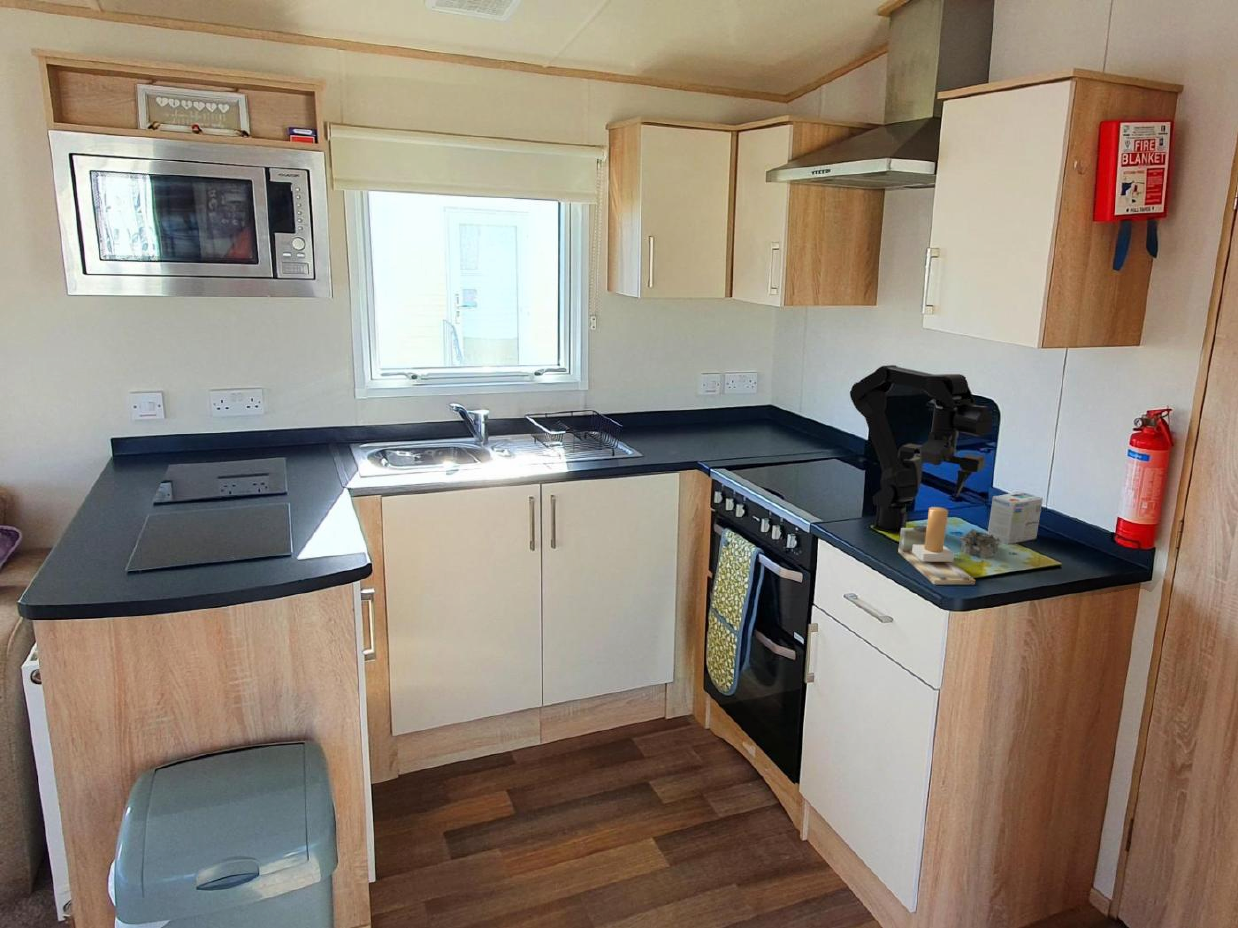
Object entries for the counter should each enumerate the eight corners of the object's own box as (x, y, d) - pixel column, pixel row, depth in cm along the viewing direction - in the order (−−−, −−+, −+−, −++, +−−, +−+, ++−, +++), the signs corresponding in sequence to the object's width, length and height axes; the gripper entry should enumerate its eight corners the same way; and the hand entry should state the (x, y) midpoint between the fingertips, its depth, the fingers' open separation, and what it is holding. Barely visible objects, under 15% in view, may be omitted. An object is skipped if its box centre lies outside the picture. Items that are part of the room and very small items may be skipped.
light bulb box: (1014, 531, 220) (1020, 490, 217) (1037, 539, 214) (1044, 497, 211) (985, 536, 215) (991, 495, 212) (1008, 545, 209) (1015, 502, 206)
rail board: (897, 551, 202) (900, 525, 200) (934, 551, 203) (937, 525, 201) (933, 584, 182) (937, 556, 181) (974, 584, 183) (978, 556, 182)
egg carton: (988, 561, 198) (991, 544, 197) (955, 553, 203) (958, 536, 202) (1002, 549, 206) (1004, 533, 205) (970, 541, 211) (972, 525, 210)
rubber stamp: (911, 551, 196) (917, 505, 193) (941, 552, 197) (947, 505, 194) (922, 561, 190) (929, 513, 187) (953, 561, 191) (960, 514, 188)
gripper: (892, 426, 200) (884, 490, 204) (973, 440, 189) (964, 508, 192) (911, 420, 208) (903, 482, 212) (990, 433, 197) (980, 498, 201)
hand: (936, 492), depth 204 cm, fingers open, 9 cm apart
